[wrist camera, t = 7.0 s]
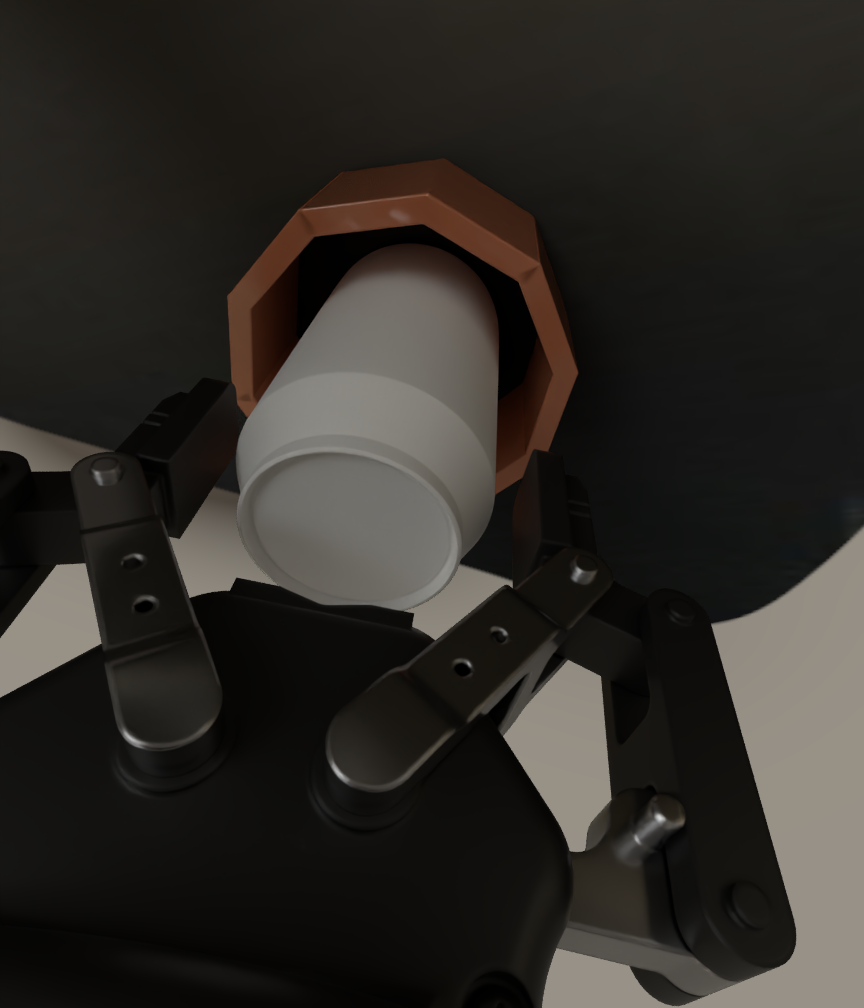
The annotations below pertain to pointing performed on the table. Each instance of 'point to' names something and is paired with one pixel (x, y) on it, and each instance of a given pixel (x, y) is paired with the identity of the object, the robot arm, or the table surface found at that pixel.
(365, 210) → the holder
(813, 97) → the table surface
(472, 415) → the beverage can
